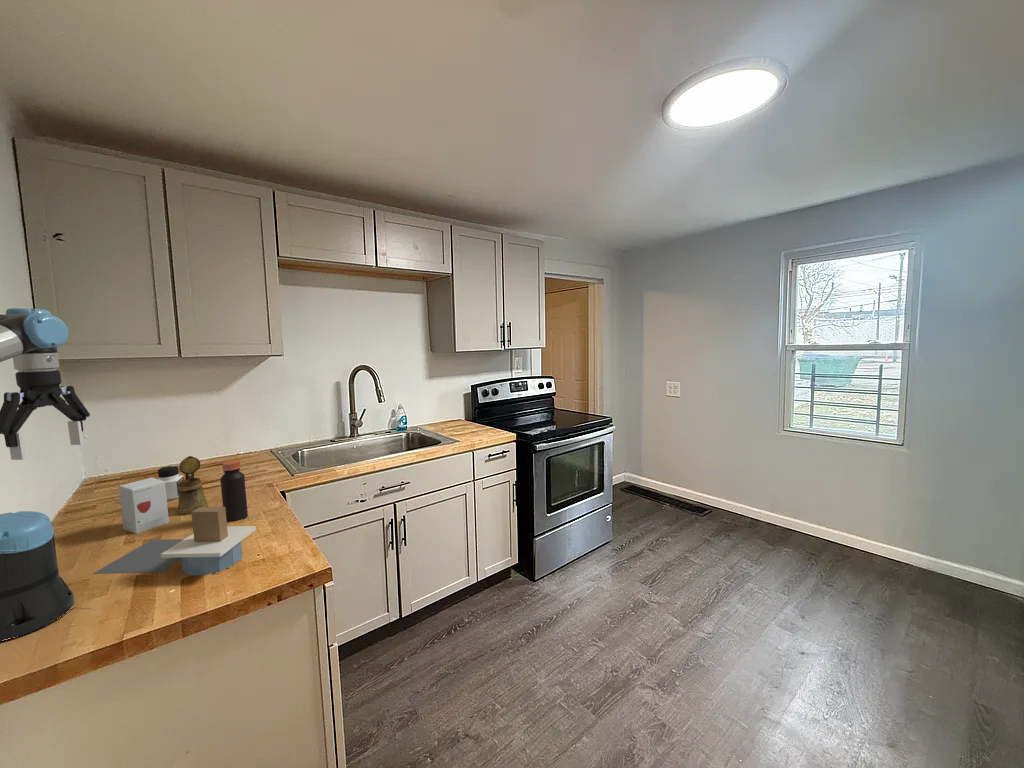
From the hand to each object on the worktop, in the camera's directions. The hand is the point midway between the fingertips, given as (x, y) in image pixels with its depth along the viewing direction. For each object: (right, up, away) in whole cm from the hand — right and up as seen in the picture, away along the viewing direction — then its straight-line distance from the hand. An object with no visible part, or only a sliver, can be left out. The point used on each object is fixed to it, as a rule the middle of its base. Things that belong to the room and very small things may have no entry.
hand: (49, 451), depth 106 cm
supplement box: (0, -30, +29) cm, 41 cm away
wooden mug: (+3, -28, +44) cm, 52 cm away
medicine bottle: (-14, -27, +54) cm, 62 cm away
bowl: (+38, -32, +6) cm, 50 cm away
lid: (+38, -26, +6) cm, 46 cm away
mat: (+19, -32, +10) cm, 38 cm away
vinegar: (+26, -29, +34) cm, 52 cm away
